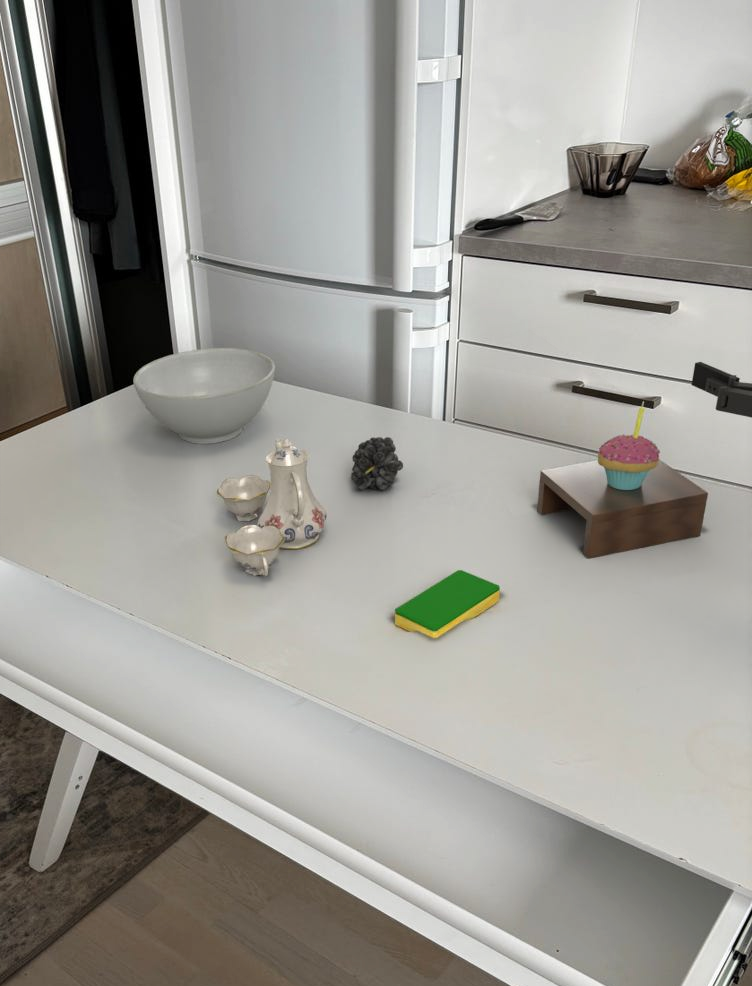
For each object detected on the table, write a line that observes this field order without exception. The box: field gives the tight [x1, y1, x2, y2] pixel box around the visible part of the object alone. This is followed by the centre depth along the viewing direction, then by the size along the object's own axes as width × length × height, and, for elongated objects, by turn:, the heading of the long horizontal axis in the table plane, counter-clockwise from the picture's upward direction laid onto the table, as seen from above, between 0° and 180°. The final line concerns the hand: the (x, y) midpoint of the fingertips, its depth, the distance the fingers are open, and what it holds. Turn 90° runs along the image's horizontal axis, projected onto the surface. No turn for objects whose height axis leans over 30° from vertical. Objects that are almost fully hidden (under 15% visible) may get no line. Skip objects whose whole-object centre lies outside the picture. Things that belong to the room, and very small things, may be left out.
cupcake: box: [597, 400, 661, 490], centre depth 141 cm, size 9×8×12 cm
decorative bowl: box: [132, 347, 276, 445], centre depth 188 cm, size 27×27×12 cm
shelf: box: [536, 458, 709, 559], centre depth 147 cm, size 18×16×7 cm
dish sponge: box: [394, 569, 501, 639], centre depth 132 cm, size 7×14×2 cm, turn 132°
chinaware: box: [216, 438, 328, 577], centre depth 149 cm, size 28×17×17 cm, turn 12°
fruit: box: [350, 436, 404, 491], centre depth 166 cm, size 9×8×15 cm
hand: (742, 362), depth 118 cm, fingers open, 13 cm apart
